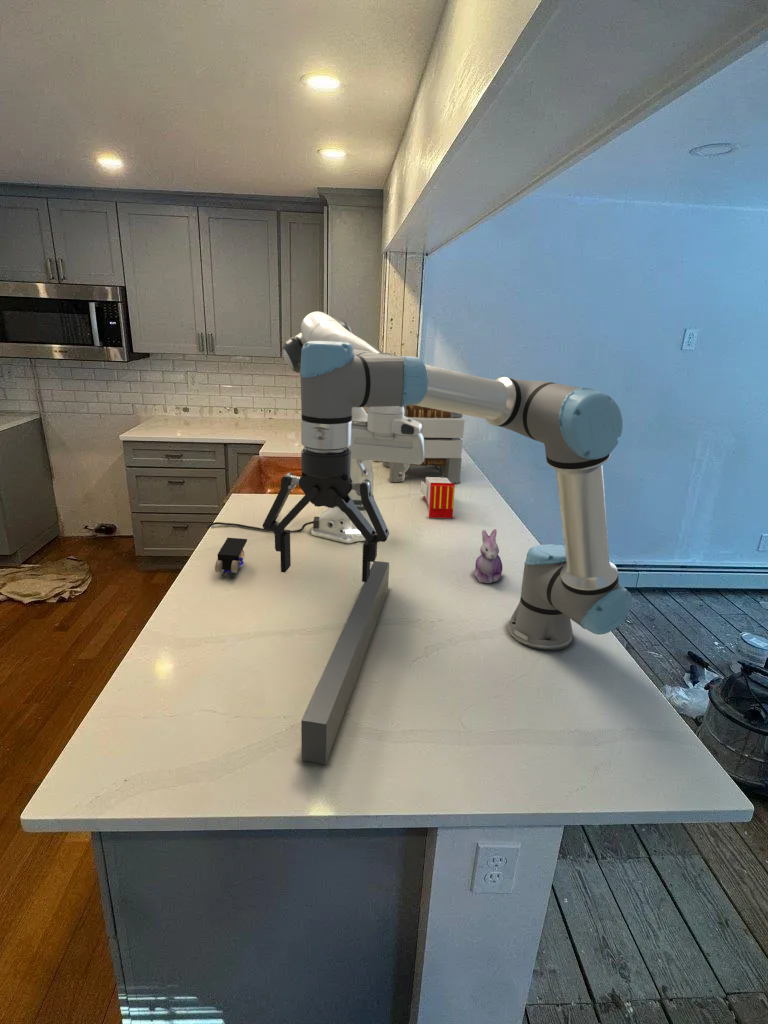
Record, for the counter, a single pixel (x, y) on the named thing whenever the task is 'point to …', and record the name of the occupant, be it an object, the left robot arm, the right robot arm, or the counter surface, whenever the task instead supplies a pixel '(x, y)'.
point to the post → (343, 669)
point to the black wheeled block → (230, 556)
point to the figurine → (488, 559)
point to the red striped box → (439, 496)
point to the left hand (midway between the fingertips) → (382, 478)
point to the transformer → (436, 441)
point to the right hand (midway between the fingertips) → (325, 573)
